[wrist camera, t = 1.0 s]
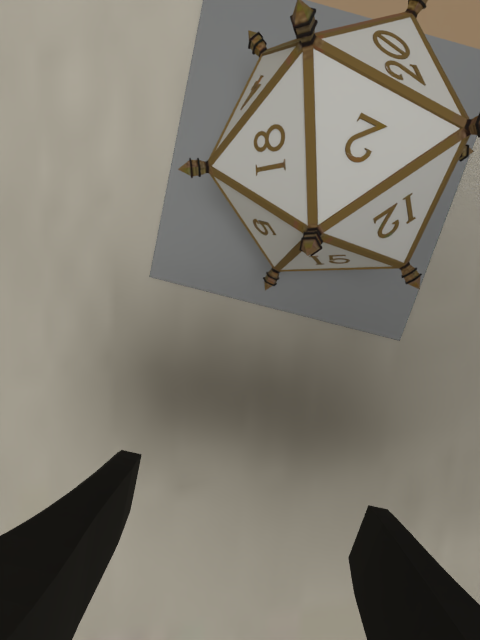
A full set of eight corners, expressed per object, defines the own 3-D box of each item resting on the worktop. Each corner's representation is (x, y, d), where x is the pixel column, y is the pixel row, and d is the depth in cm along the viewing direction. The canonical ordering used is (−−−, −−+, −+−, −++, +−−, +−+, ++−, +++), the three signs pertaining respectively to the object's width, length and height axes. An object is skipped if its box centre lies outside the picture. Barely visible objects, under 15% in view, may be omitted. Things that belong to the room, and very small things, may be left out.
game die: (270, 163, 19) (163, -73, 11) (460, 135, 16) (537, -242, 7) (247, 331, 17) (88, 208, 8) (464, 338, 14) (585, 147, 5)
